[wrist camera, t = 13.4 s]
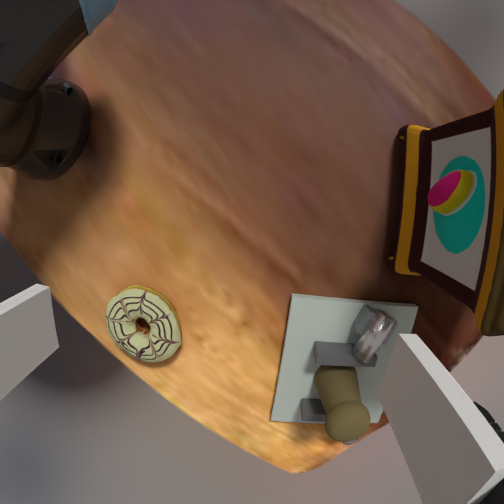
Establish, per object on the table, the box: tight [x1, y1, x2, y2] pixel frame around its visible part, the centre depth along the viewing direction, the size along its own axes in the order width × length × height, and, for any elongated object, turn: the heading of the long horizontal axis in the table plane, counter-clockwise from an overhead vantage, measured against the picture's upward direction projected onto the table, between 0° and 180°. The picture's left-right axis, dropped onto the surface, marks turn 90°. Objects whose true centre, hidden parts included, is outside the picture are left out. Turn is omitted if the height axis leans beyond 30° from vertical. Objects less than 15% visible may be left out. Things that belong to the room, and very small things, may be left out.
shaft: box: [351, 303, 398, 363], centre depth 34 cm, size 6×4×4 cm
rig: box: [271, 293, 418, 424], centre depth 36 cm, size 17×20×5 cm
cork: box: [313, 365, 371, 442], centre depth 32 cm, size 6×6×11 cm
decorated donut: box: [106, 285, 182, 362], centre depth 38 cm, size 10×11×4 cm
